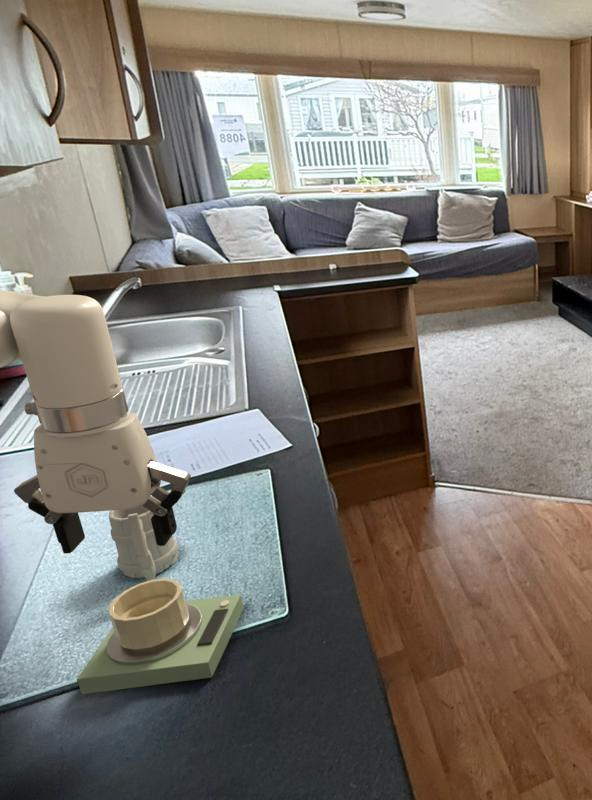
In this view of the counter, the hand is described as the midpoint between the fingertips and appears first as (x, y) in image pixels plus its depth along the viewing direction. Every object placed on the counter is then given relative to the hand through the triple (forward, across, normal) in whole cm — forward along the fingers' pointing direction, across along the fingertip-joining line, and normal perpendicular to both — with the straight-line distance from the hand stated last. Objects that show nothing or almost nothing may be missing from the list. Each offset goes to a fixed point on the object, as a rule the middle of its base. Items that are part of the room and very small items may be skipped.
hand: (121, 542), depth 76 cm
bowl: (+13, +1, 0) cm, 13 cm away
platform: (+14, +1, 0) cm, 14 cm away
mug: (+17, -7, +17) cm, 25 cm away
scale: (+16, +2, 0) cm, 16 cm away
